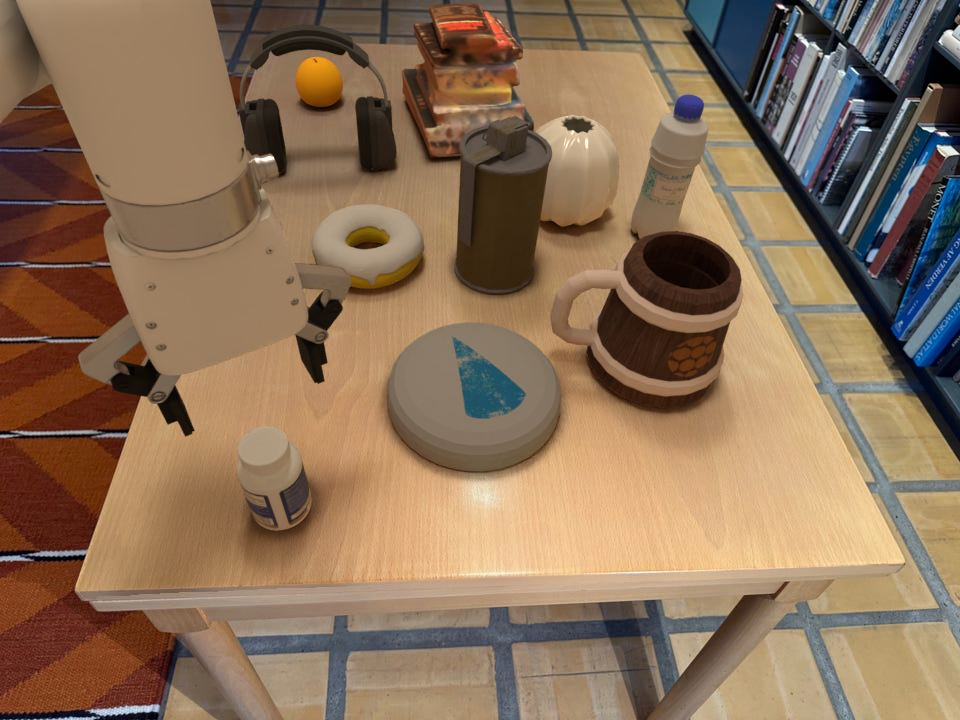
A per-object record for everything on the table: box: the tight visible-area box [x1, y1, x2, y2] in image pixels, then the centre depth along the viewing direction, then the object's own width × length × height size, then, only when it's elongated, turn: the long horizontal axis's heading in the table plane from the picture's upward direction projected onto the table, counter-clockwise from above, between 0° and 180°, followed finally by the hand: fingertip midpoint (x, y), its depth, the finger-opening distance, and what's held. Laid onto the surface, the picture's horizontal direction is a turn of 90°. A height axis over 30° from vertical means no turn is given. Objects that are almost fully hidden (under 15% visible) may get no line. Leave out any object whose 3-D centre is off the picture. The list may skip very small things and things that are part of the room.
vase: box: [535, 114, 620, 228], centre depth 90 cm, size 14×14×13 cm
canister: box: [453, 116, 552, 295], centre depth 77 cm, size 11×10×20 cm
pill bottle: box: [235, 425, 313, 532], centre depth 56 cm, size 5×5×10 cm
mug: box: [549, 230, 744, 409], centre depth 69 cm, size 20×15×15 cm
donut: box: [311, 203, 425, 290], centre depth 82 cm, size 14×14×5 cm
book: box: [401, 2, 535, 159], centre depth 104 cm, size 23×18×17 cm
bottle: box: [630, 93, 709, 240], centre depth 85 cm, size 7×7×20 cm
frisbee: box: [386, 321, 562, 472], centre depth 68 cm, size 18×18×5 cm
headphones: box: [237, 23, 398, 174], centre depth 92 cm, size 22×6×20 cm, turn 100°
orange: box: [294, 56, 344, 108], centre depth 110 cm, size 8×8×8 cm
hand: (251, 395), depth 48 cm, fingers open, 9 cm apart
